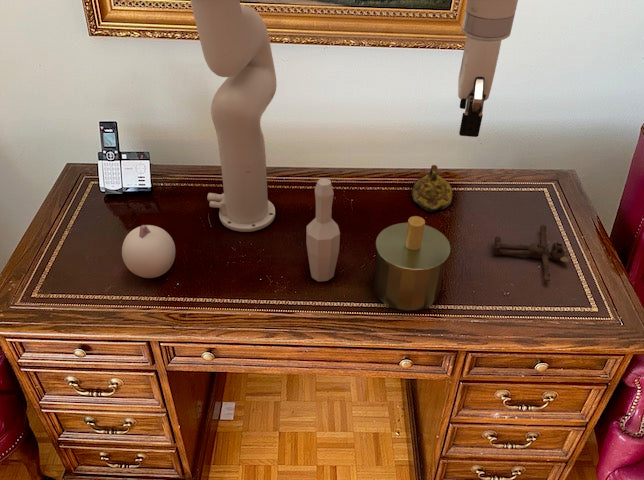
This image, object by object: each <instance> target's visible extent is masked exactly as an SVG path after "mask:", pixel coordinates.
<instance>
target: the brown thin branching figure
mask: <svg viewBox="0 0 644 480" xmlns="http://www.w3.org/2000/svg"><path fill="white" fill-rule="evenodd" d="M547 228H548V227H547V225H545V224H541V225H539V230H540V243H539V242H532V243H530V244H529V245H528V244H527V245H523V244H508V243H507V244H506V243H501V242H502V241H501V239H502V238H501V237H500V236H499V235H496V236H495V237H494V247H493V248H494V249H493V250H494V251H493V252H494V253H493V254H494V256H500V255H501V256H509V257H510V256H511V257H512V256H517V257H518V256H519V257H529V258H532V259H541V262H542V268H543V281H544V282H550V281H551V272H550V265H549V262H550V261H549V256H550V257H551V259H552V260H553V261H555V262H562V263H569V262H570V259H569V258H568V257H567V256H566V253H568V249H567V248H566V247H563V244H562V243H559V242H558V241H557V242H554V243H552V245H551V249H550V251H549V247H548V246H549V245H548V241H547Z"/></svg>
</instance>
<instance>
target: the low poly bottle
mask: <svg viewBox="0 0 644 480" xmlns="http://www.w3.org/2000/svg"><path fill="white" fill-rule="evenodd" d="M334 194H335V193H334V189H333V184H332V182H331V179H329V178H320V179H318V180H317V182H316V184H315V187H314V197H315V198H314V199H315V217H314V218H313V219H312V220H311V221H310V222H309V223H308V224H307V225H306V227H305V228H306V231H305V232H306V234H305V235H306V238H305V239H306V240H305V241H306V242H305V244H306V250H307V256H308V257H307V258H308V264H309V271H310V277H311V278H312V279H313V280H315V281H316V282H328V281H330V280H331V279H332V278H333V277H334V276H335V272H336V267H337V263H338V257H339V253H340V241H341V232H340V227H339V224H338V223H337V222H336V221H335V220H334V219H333V218H332V214H333V213H332V207H333V201H334Z"/></svg>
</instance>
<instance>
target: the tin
mask: <svg viewBox="0 0 644 480" xmlns="http://www.w3.org/2000/svg"><path fill="white" fill-rule="evenodd" d="M375 260H376V261H375V269H374V279H373V291H374V294H375V296H376V297H377V298H378V300H379V301H380V302H381V303H382V304H384V305H385V306H387V307H389V308H391V309H394V310H397V311H401V312H419V311H423V310H425V309H428V308H430V307H431V306H433V304H434V303H435V302H436V301H437V300H438V298H439V296H440V292H441V286H442V282H443V277H444V272H445V267H446V262H447V261H446V262H445V263H444V264H442V265H441V266H439V267H438V268H435V269H433V270H429V271H423V272H411V271H405V270H401V269H398V268H395V267H393V266H391V265H389V264H387V263H386V262H385V261H384V260H382V259H381V257H380V256H379V255H378V253H377V252H376V259H375Z"/></svg>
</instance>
